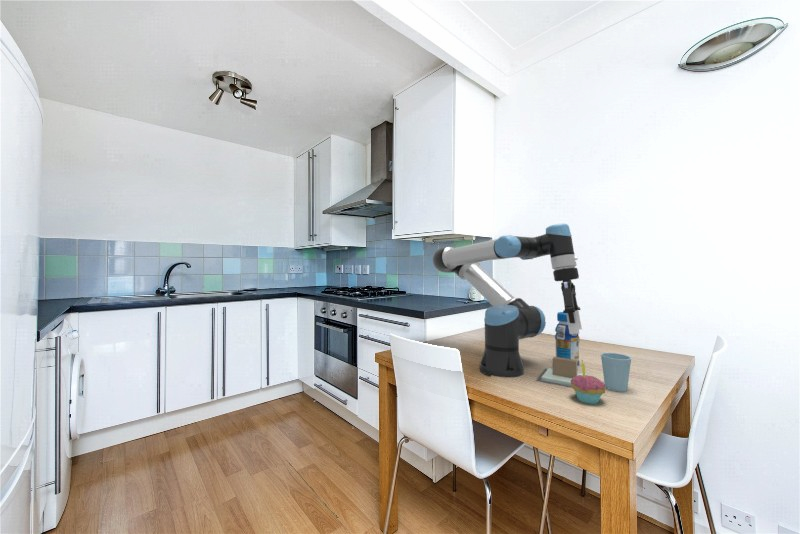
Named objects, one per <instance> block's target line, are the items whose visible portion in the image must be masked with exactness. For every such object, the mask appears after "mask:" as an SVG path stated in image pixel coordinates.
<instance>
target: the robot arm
mask: <svg viewBox="0 0 800 534" xmlns="http://www.w3.org/2000/svg"><path fill="white" fill-rule="evenodd" d="M573 243H574V242H573V238H572V234H571V229H570V226H569V224H568V223H557V224H556V223H555V224H551V225H548V226H546V227H545V233H544V234H542V235H538V236H533V237H532V236H531V237H530V236H517V235H511V234H509V235H507V234H506V235H502V236H500V237H498V238H497V239H491V240H490V239H489V240H487V241H486V240H485V241H481V242H477V243H473V244H472V243H471V244H469V245H462V246H458V247H453V246H447V247H446V246H445V247H441V248H439V249H436V251H434V254H433V255H432V264H433V266H434V267H435V269H436V270H437V271H440V272H442V273H446V274H447V273H450V274H451V273H454V274H455V275H457V276H458V277H459V278H460V280H462V281H463V280H466V281H467V282H468V283H469V284H470V285H471V286H472V287H473V288H474V289H475V290H476V291H477V292H478V293H479V294H480V295H481V296H482V297H484V299H485V300H486V302H488V303H489V304H490V305H491V306H490V307H488V308H487V309H485V312H484V317H483V319H484V351H483V354H482V358H481V359H480V364H479V370H480V372H481V373H482V374H484V375H487V376H490V377H491V376H494V377H499V378H518V377H521V376H523V375H524V374H525V366H524V363H523V360H522V357H521V355H520V349H519V348H520V341H519V340H524V339H529V338H535V337H536V336H538V335H541V334H542V332H543V331H544V330H545V328H546V324H547V322H546V315H545V313H544V312H543V311H542V309H540V307H538V306H534V305H529V303H527V302H526V301H525V300H524V299H522V298H521V297H515V296H513V294H511V293H510V291H508V290H507V289H506V288H504V287H503V286H502V285H501V284H500V282H498V281H497V279H495V278H494V277H493V276H491V274H489V273H488V272H487V271H486V270H485V269H484V268H482V267H481V266H480V265H481V263H484V262H491V261H496V260H497V261H498V260H505V259H511V258H512V259H513V258H519V259H521V260H523V261H526V260H533V259H537V258H540V257H545V256H549V255H550V263H551V269H552V270H553V272H552V273H553V280H554V281H555V282H561V283H560V285H561V286H560V289H561V292H562V293H561V294H562V297H563V304H564V310H563V311H562V312H563V313H566V316H567V322H568V327H569V333H570V334H578V335H579V334H580V330H583V328H582V322H581V316H580V311H581V307H580V306H579V305H578V300H577V298H576V297H577V292H576V285H575V284H574V283H573V280H578V279H579V277H580V275H579V271H578V270H579V269H578V268H577V261H578V260H579V259H578V256H575V250H574V244H573Z"/></svg>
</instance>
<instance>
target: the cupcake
mask: <svg viewBox="0 0 800 534" xmlns="http://www.w3.org/2000/svg"><path fill="white" fill-rule="evenodd" d="M580 363H581V371H582V372H581V373H583V375H579V376H576V377H573V379H572V380H571V387H572V388H571V389H573V390H574V392H575V394H576V397H577V400H578V401H580V402H583V403H585V404H591V405H593V404H594V405H595V404H598V403H599V401H600V399H601V397H602V396H603V395H604V394H605V393H606V389H607V388H606V387H605V383H604V381H601V380H600V379H599V378H597V377H595V376H593V375H586V374H587V373H586V366H585V362H584V361H583V359H581V362H580Z"/></svg>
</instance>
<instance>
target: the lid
mask: <svg viewBox="0 0 800 534" xmlns="http://www.w3.org/2000/svg"><path fill="white" fill-rule="evenodd" d="M547 369H548V370H547V371H546V372H545V373H544V375H543V376H542V377H541V380H542V381H548V382H553V383H558V384H563V385H569V386H571V380H572V379H573V377H576V376H579V375H583V372H578V367H577V360H574V359H567V358H560V357H556V356H553V357H552V368H551V367H548V368H547ZM585 374H586V375H588V373H585ZM588 376H589V375H588Z"/></svg>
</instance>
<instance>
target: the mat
mask: <svg viewBox="0 0 800 534" xmlns="http://www.w3.org/2000/svg"><path fill="white" fill-rule="evenodd" d="M547 370H548V368H545V369H544V370H543V371H542V372H541V374H539V376H538V377H537V378H536V379H535V382H539V383H546V384H550V385H555V386H561V387H565V388H571V389H573V388H572V387H571V386H569V385H563V384H558V383H553V382H548V381H542V380H541V377H542V376H543V375H544V373H545V372H546V371H547Z"/></svg>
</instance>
